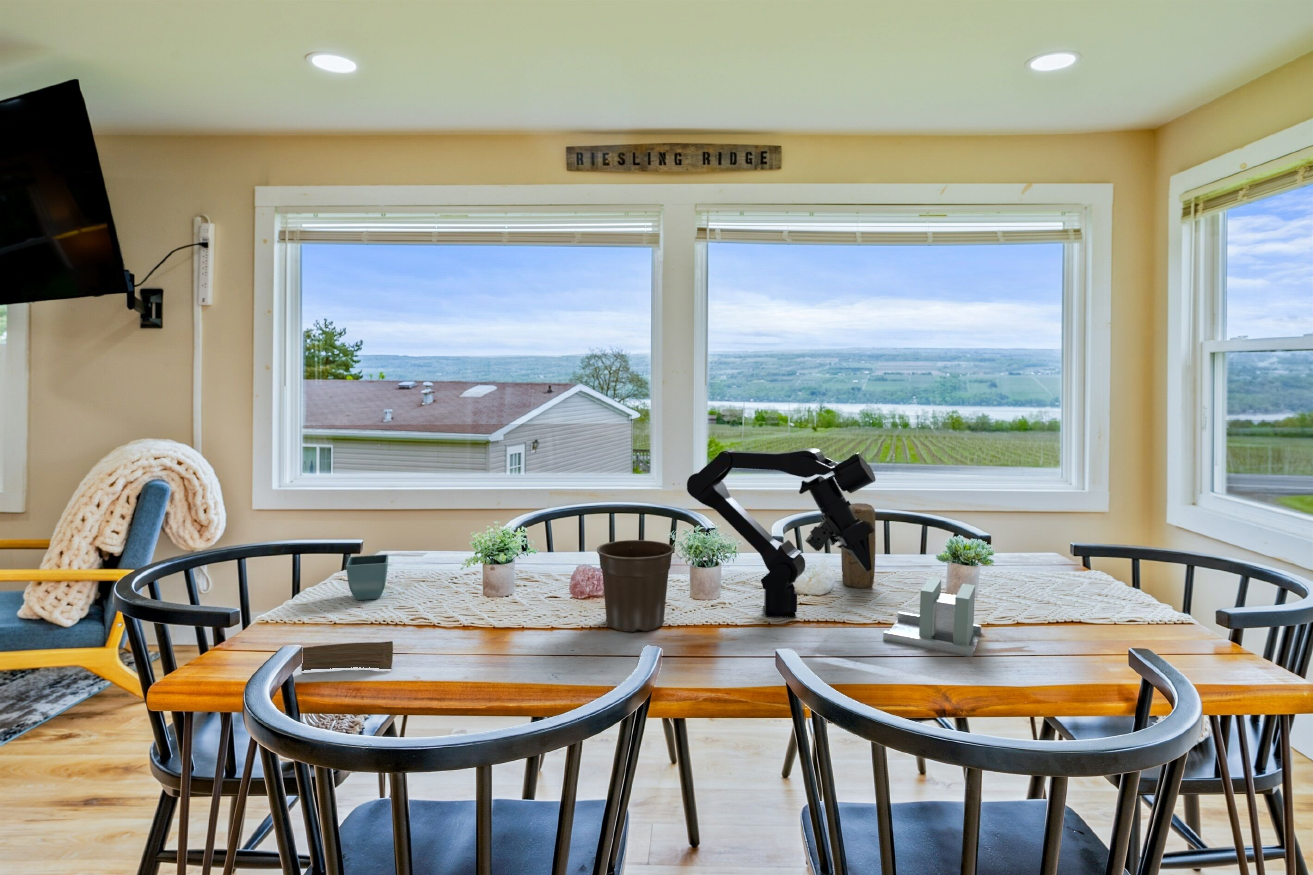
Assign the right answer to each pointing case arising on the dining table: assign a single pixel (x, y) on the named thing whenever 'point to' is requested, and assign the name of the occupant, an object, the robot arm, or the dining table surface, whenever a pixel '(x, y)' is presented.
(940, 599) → the steel block
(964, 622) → the fixed jaw
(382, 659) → the wood plank
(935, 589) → the bar
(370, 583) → the flower pot
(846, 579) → the block
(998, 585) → the dining table surface
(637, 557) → the plant pot
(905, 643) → the vise base
